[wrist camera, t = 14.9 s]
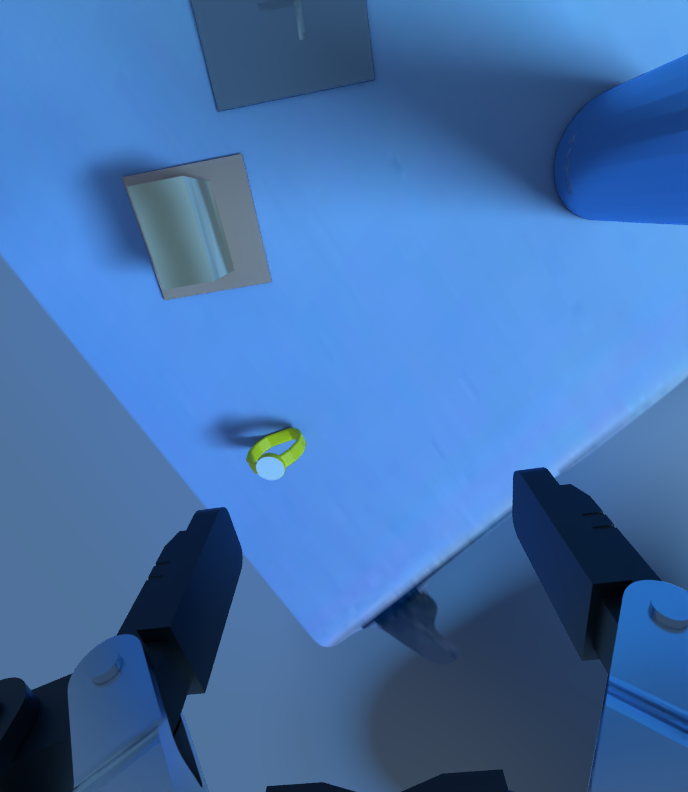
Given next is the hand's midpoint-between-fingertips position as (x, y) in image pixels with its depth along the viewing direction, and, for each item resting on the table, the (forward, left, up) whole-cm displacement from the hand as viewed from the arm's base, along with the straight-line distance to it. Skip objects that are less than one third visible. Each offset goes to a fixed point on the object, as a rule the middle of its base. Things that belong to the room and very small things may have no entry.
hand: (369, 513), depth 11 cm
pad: (+12, -8, -28) cm, 32 cm away
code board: (+2, -22, -28) cm, 36 cm away
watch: (+10, +13, -28) cm, 33 cm away
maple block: (+12, -8, -28) cm, 31 cm away
